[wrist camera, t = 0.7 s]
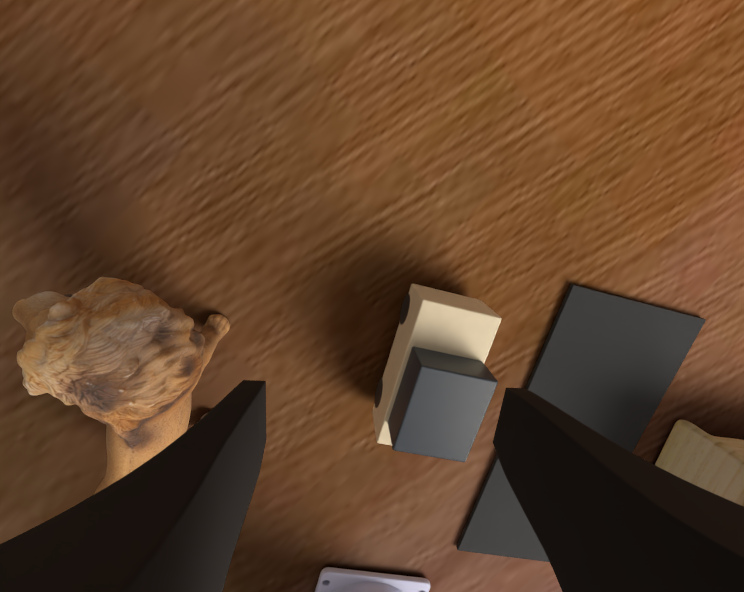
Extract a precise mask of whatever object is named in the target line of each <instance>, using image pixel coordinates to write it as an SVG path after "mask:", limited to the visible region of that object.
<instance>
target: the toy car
mask: <svg viewBox="0 0 744 592" xmlns="http://www.w3.org/2000/svg"><path fill="white" fill-rule="evenodd" d="M500 322H501V317H500V316H499V315H497V314H496V313H495V312H494V311H493V310H492V309H490V308H489V307H488V306H487V305H486V304H484V303H483V302H482V301H481V300H479V299H474V298H470V297H466V296H462V295H458V294H454V293H450V292H446V291H442V290H438V289H433V288H429V287H425V286H421V285H417V284H411V287H410V290H409V293H407V295H406V296H405V298H404V300H403V303H402V307H401V311H400V323H399V326H398V329H397V332H396V336H395V339H394V342H393V345H392V348H391V352H390V355H389V358H388V361H387V365H386V368H385V371H384V374H383V378H381V379H380V380H379V382H378V385H377V388H376V393H375V404H374V407H373V410H372V412H373V419H374V426H375V433H376V440H377V443H381V444H386V445H392V448H393V450H395V451H401V452H407V453H413V454H419V455H425V456H431V457H437V458H443V459H449V460H455V461H461V462H465V461H466V459H467V457H468V454H469V452H470V449H471V447H472V445H473V442H474V440H475V437H476V435H477V432H478V430H479V427H480V425H481V422H482V420H483V418H484V415H485V413H486V410H487V408H488V405H489V403H490V400H491V398H492V396H493V393H494V391H495V388H496V386H497V383H498V381H497V380H496V379H495V377H494V376H493V375H492V374H491V372H490V371H489V370H488V368H487V367H486V366H485V365H484V363H485V360H486V358H487V355H488V353H489V350H490V347H491V345H492V342H493V340H494V337H495V335H496V332H497V330H498V327H499V324H500Z"/></svg>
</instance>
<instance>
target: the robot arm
mask: <svg viewBox="0 0 744 592" xmlns="http://www.w3.org/2000/svg"><path fill="white" fill-rule="evenodd" d="M265 443H266V382H265V381H250V380H243V381H242V382H241V383H240V384H239V385H238V386H237V387H235V388H234V389H233V390H232V391H231V392H230V393H229V394H228V395H227V396H226V397H225V398H224V399H223V400H222V401H221V402H219V403H218V404H217V405H216V406H215V407H214V408H213V409H212V410H211V411H210V412H208V413H207V414H206V415H205V416H204V417H203V418H202V419H200V420H199V421H198V422H197V423H196V424H195V425H194V426H192V427H191V428H190V429H189V430H188V431H186V432H185V433H184V434H183V435H181V436H180V437H179V438H178V439H176V440H175V441H174V442H173V443H171V444H170V445H169V446H168V447H166V448H165V449H164V450H162V451H161V452H159V453H158V454H157V455H155V456H154V457H152V458H151V459H150V460H148V461H147V462H145V463H144V464H142V465H141V466H139V467H138V468H136V469H135V470H133V471H132V472H130V473H129V474H127V475H126V476H124V477H123V478H121V479H120V480H118V481H116V482H114V483H113V484H111V485H109V486H108V487H106V488H104V489H103V490H101V491H99V492H98V493H96V494H94V495H92V496H91V497H89V498H87V499H86V500H84V501H82V502H81V503H79V504H77V505H76V506H74V507H72V508H70V509H68V510H67V511H65V512H63V513H61V514H59V515H57V516H55V517H53V518H52V519H50V520H48V521H46V522H44V523H42V524H40V525H38V526H36V527H34V528H32V529H30V530H28V531H26V532H24V533H22V534H20V535H18V536H16V537H14V538H12V539H10V540H8V541H6V542H4V543H2V544H0V592H223V589H224V584H225V580H226V576H227V573H228V569H229V566H230V562H231V559H232V555H233V552H234V549H235V546H236V543H237V540H238V537H239V534H240V531H241V528H242V525H243V522H244V519H245V516H246V513H247V510H248V507H249V504H250V501H251V498H252V494H253V491H254V488H255V485H256V482H257V479H258V476H259V472H260V467H261V463H262V458H263V453H264V448H265ZM493 444H494V447H495V449H496V452H497V455H498V458H499V461H500V463H501V466H502V469H503V471H504V474H505V476H506V478H507V480H508V482H509V484H510V486H511V488H512V490H513V492H514V494H515V496H516V498H517V499H518V501H519V503H520V505H521V507H522V509H523V511H524V513H525V515H526V517H527V518H528V520H529V522H530V524H531V526H532V528H533V530H534V532H535V534H536V536H537V538H538V539H539V541H540V543H541V545H542V547H543V549H544V551H545V553H546V555H547V557H548V559H549V561H550V563H551V565H552V568H553V570H554V572H555V575H556V577H557V579H558V582H559V584H560V587H561V589H562V591H563V592H744V506H741V505H739V504H737V503H734V502H732V501H730V500H728V499H725V498H723V497H721V496H718V495H716V494H714V493H712V492H709V491H707V490H705V489H703V488H700V487H698V486H696V485H694V484H692V483H690V482H688V481H685V480H683V479H681V478H679V477H677V476H675V475H673V474H671V473H669V472H667V471H665V470H663V469H661V468H659V467H657V466H656V465H654V464H652V463H650V462H648V461H646V460H644V459H642V458H640V457H639V456H637V455H635V454H633V453H631V452H630V451H628V450H626V449H624V448H623V447H621V446H619V445H617V444H616V443H614V442H612V441H611V440H609V439H607V438H606V437H604V436H602V435H601V434H599V433H597V432H596V431H594V430H592V429H591V428H589V427H588V426H586V425H584V424H583V423H581V422H580V421H578V420H576V419H575V418H573V417H572V416H570V415H569V414H567V413H565V412H564V411H562V410H561V409H559V408H558V407H556V406H554V405H553V404H551V403H550V402H548V401H546V400H545V399H543V398H541V397H540V396H538V395H536V394H535V393H533V392H531V391H529V390H527V389H525V388H506V390H505V395H504V399H503V403H502V407H501V411H500V415H499V419H498V424H497V428H496V432H495V436H494V440H493ZM429 589H430V582H429V580H428V579H426V578H421V577H412V576H403V575H394V574H386V573H377V572H368V571H359V570H350V569H342V568H333V567H326V568H324V569H322V571H321V573H320V576H319V579H318V583H317V586H316V589H315V592H429Z"/></svg>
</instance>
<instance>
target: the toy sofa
mask: <svg viewBox="0 0 744 592" xmlns="http://www.w3.org/2000/svg"><path fill="white" fill-rule="evenodd" d="M655 465H656V466H657V467H659V468H661V469H663V470H665V471H667V472H669V473H671V474H673V475H675V476H677V477H679V478H681V479H683V480H685V481H688V482H690V483H692V484H694V485H696V486H698V487H700V488H703V489H705V490H707V491H709V492H712V493H714V494H716V495H718V496H721V497H723V498H725V499H728V500H730V501H732V502H734V503H737V504H739V505H741V506H744V440H741V439H733V438H724V437H716V436H712V435H709V434H708V433H706V432H705V431H703V430H702V429H700V428H699V427H697V426H696V425H694V424H692V423H691V422H688V421H685V420H678V421H677V422H676V423H675V424H674V427H673V429H672V431H671V433H670V435H669V437H668V439H667V440H666V442H665V445H664V447H663V449H662V451H661V453H660V455H659V457H658V459H657V461H656V463H655Z"/></svg>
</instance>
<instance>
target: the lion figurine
mask: <svg viewBox="0 0 744 592" xmlns="http://www.w3.org/2000/svg"><path fill="white" fill-rule="evenodd" d="M12 314H13V317H14V318H15V319H16V320H17V321H18V322H19V323H21V324H22V326H23V327H24V328H25V330H26V331H27V333H26V337H25V344H24V345H23V349H21V350H20V351H18V352H17V363H18V364H19V366H20V367H21V368H22V375H23V377H24V380H23V385H24V387H25V388H26V389H27V390H28V392H29V394H31V395H40V394H44V393H49V394H51V395H52V396H54V397H57V398H58V399H59V400H61V401H63V403H64V404H66V405H73V404H77V405H78V406H79V407H80V408H81V411H82V412H83V413H84V414H85V415H87V416H89V417H91V418H94V419H96V420H98V421H99V422H101V423H103V424H107V425H106V448H107V470H106V475H105V477H104V478H103V480H102V481H101V483H100V484H99V486H98V487H97V489H96V491H95V492H94V494H96V493H98V492H99V491H101V490H103V489H104V488H106V487H108V486H109V485H111V484H113V483H114V482H116V481H118V480H120V479H121V478H123V477H124V476H126V475H127V474H129V473H130V472H132V471H133V470H135V469H136V468H138V467H139V466H141V465H142V464H144V463H145V462H147V461H148V460H150V459H151V458H152V457H154V456H155V455H157V454H158V453H159V452H161V451H162V450H164V449H165V448H166V447H168V446H169V445H170V444H171V443H173V442H174V441H175V440H176V439H178V438H179V437H180V436H181V435H183V434H184V433H185V432H186V431H187V428H188V424H189V419H190V413H191V392H192V391H193V389H194V388H195V386H196V384H197V382H198V381H199V379H200V377H201V375H202V372H203V370H204V368H205V366H206V365H207V364H208V362H209V360H210V358H211V356H212V354H213V351H214V350H215V348H216V345H217V343H218V342H219V340H220V339H221V338H222V337H223V336H224V335H225V334H226V333H227V332H228V331H229V328H230V323H229V321H228V319H227V318H226V317H224V316H223V315H221V314H217V315H210V316H209V317H208V320H207V322H206V324H205V325H204V326H203V327H202V329H201V333H200V332H198V331H196V330H194V322H193V319H192V318H191V317H189V316H187V315H185V313H184V310H183V309H182V308H172V307H170V306H169V305H168V304H167V303H166V302H165V301H163V300H162V299H160V298H159V297H158V296H157V295H155V294H154V293H153V292H152V291H150V290H145V289H144V288H143V286H141V285H138V284H133V283H131V282H129V281H127V280H120V279H117V278H109V277H99V278H98V279H97V280H96V281H95V282H94V283H93V284H91V285H90V286H89V287H87V288H84V289H82V290H80V291H79V292H77V293H75V294H68V295H61V294H59V293H56V292H51V291H45V292H41V293H38V294H35V295H32V296H31V297H29V298H26V299H21V300H19V301H18V302H17V303H16V304H15V305H14V307H13V310H12ZM206 414H207V413H206ZM206 414H204V415H203V416H202V418H203V417H204V416H205V415H206ZM202 418H201V419H202Z"/></svg>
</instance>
